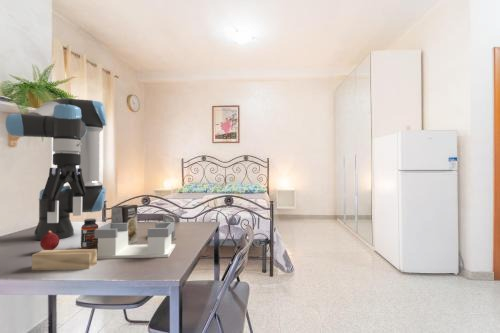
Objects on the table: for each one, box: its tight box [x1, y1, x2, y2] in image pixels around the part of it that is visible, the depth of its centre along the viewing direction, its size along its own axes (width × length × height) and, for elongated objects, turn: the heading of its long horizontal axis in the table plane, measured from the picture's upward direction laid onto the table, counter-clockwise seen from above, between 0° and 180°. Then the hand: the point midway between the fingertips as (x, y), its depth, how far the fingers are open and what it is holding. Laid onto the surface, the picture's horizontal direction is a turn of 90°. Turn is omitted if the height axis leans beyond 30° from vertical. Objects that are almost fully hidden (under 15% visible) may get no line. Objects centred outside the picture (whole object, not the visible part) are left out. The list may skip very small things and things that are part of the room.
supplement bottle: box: [80, 218, 99, 249], centre depth 110 cm, size 6×6×11 cm
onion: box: [39, 231, 60, 250], centre depth 103 cm, size 6×6×8 cm
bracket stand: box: [95, 221, 176, 260], centre depth 103 cm, size 14×26×10 cm, turn 95°
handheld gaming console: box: [146, 214, 177, 241], centre depth 125 cm, size 13×9×10 cm
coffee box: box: [110, 204, 138, 245], centre depth 115 cm, size 9×6×16 cm
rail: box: [31, 248, 98, 271], centre depth 88 cm, size 5×17×5 cm, turn 95°
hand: (66, 219), depth 88 cm, fingers open, 13 cm apart
